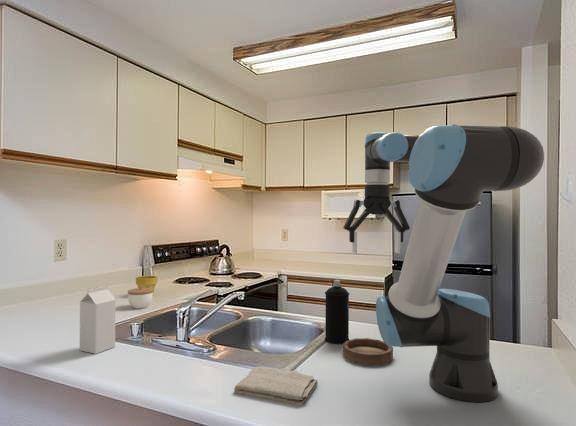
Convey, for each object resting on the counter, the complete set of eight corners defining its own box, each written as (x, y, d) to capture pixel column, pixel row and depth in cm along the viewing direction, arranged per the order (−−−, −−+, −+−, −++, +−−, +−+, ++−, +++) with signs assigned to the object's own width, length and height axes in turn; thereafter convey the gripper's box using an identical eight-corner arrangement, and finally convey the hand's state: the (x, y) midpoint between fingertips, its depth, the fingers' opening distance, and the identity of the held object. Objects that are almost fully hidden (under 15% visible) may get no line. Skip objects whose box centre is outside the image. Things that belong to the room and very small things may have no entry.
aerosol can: (333, 345, 122) (333, 283, 122) (319, 338, 129) (320, 279, 129) (354, 341, 126) (354, 281, 126) (339, 334, 133) (340, 277, 133)
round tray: (399, 364, 107) (399, 354, 107) (350, 366, 105) (350, 355, 105) (382, 347, 121) (382, 337, 121) (339, 348, 119) (339, 338, 119)
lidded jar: (146, 303, 179) (146, 283, 179) (157, 307, 172) (157, 286, 172) (123, 307, 172) (123, 286, 172) (133, 311, 164) (134, 289, 164)
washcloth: (305, 408, 83) (305, 394, 83) (231, 395, 89) (231, 382, 89) (319, 385, 94) (319, 373, 94) (253, 375, 100) (253, 363, 100)
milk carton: (115, 347, 120) (115, 286, 120) (95, 354, 113) (95, 290, 113) (99, 343, 123) (100, 284, 123) (79, 350, 116) (79, 288, 116)
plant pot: (159, 293, 201) (159, 275, 201) (154, 298, 190) (154, 278, 190) (139, 294, 200) (139, 275, 200) (132, 298, 190) (132, 278, 190)
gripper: (411, 185, 122) (410, 251, 123) (334, 184, 120) (334, 251, 121) (421, 184, 115) (420, 254, 115) (339, 183, 112) (339, 254, 113)
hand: (376, 253), depth 118 cm, fingers open, 13 cm apart
